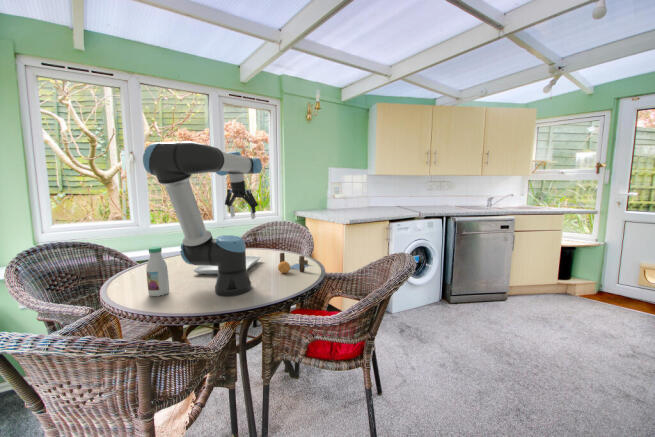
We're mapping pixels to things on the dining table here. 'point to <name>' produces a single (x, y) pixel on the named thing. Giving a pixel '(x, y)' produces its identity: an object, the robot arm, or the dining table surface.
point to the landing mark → (297, 266)
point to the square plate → (214, 269)
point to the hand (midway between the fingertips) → (243, 217)
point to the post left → (282, 257)
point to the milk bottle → (157, 273)
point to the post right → (301, 264)
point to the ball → (284, 267)
